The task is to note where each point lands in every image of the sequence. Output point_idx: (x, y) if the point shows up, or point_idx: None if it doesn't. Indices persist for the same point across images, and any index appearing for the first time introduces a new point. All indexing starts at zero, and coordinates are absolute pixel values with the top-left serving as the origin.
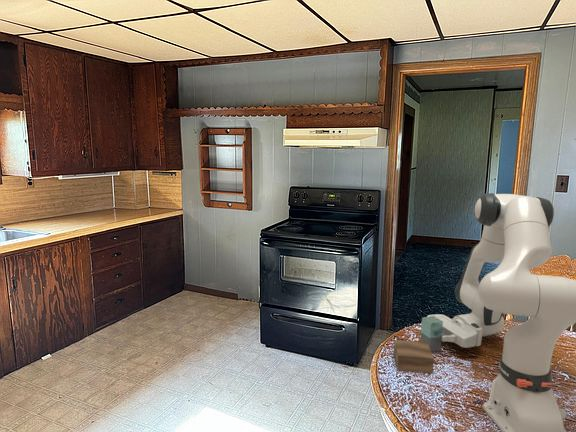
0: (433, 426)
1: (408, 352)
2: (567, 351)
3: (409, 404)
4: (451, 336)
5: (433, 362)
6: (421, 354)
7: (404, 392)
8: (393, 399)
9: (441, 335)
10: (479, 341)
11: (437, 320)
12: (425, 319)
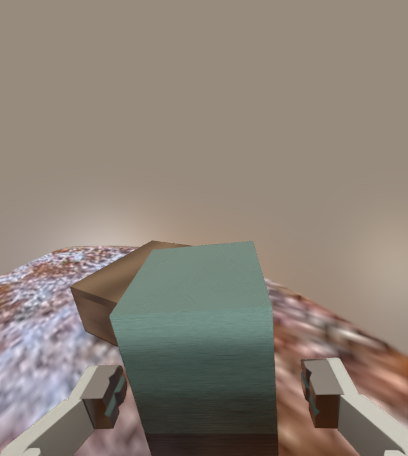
0: (22, 266)
1: (148, 255)
2: None
3: (76, 261)
4: (27, 429)
5: (74, 298)
6: (114, 271)
7: (100, 264)
8: (103, 251)
9: (111, 367)
10: None
11: (159, 289)
12: (219, 246)
